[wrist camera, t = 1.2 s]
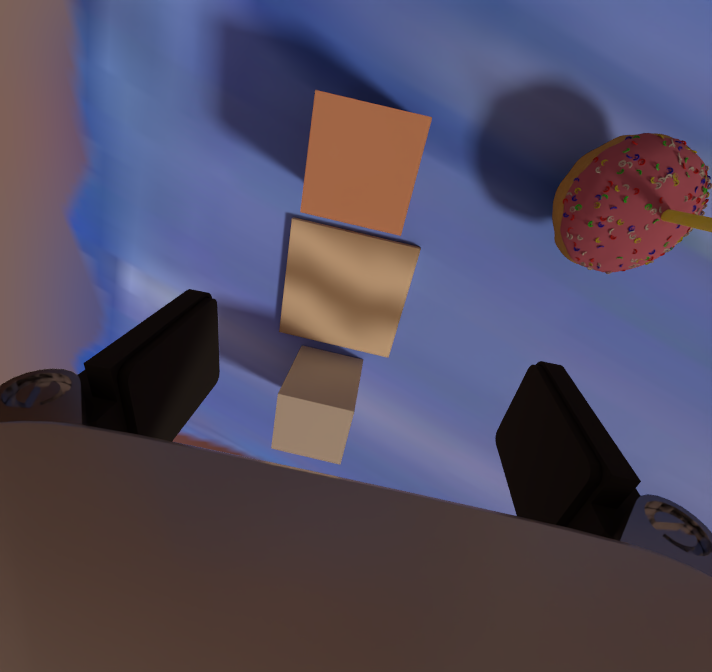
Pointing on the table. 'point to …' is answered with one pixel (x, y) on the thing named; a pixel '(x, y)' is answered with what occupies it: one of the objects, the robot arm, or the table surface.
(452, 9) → the table surface
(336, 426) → the beige block
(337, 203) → the peach colored cube
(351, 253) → the birch board
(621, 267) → the cupcake
